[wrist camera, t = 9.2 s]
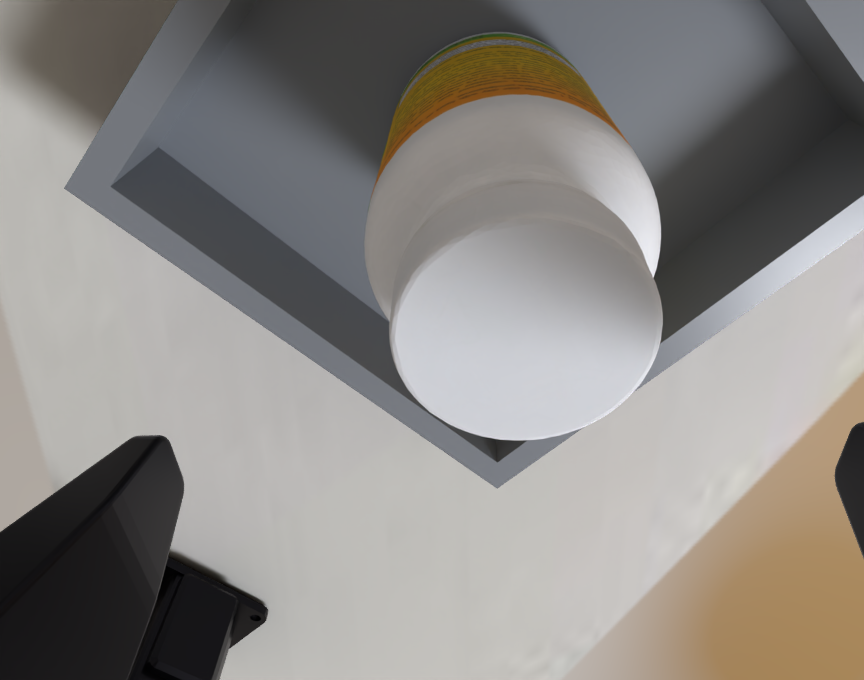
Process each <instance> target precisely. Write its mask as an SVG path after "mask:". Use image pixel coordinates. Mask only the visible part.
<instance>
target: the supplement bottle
mask: <svg viewBox="0 0 864 680" xmlns="http://www.w3.org/2000/svg"><path fill="white" fill-rule="evenodd" d="M660 244H661V223H660V214H659V208H658V203H657V199H656V196H655V192H654V189H653V187H652V184H651V182H650V179H649V177H648V175H647V173H646V172H645V170H644V168H643V166H642V164H641V162H640V161H639V159H638V157H637V156H636V154H635V152H634V150H633V149H632V147H631V146H630V144H629V143H628V142H627V140H626V139H625V137H624V136H623V134H622V133H621V132H620V130H619V129H618V128H617V126H616V125H615V123H614V122H613V121H612V119H611V118H610V116H609V115H608V113H607V112H606V110H605V109H604V107H603V106H602V105H601V103H600V102H599V100H598V99H597V97H596V96H595V94H594V93H593V91H592V90H591V88H590V87H589V85H588V84H587V82H586V81H585V79H584V78H583V77H582V76H581V74H580V73H579V72H578V70H577V69H576V68H575V67H574V66H573V65H572V64H571V63H570V62H569V61H568V60H567V59H566V58H565V57H564V56H563V55H562V54H560V53H559V52H558V51H556V50H555V49H553V48H552V47H550V46H549V45H547V44H545V43H543V42H541V41H539V40H537V39H534V38H532V37H529V36H525V35H522V34H516V33H510V32H488V33H481V34H476V35H472V36H469V37H465V38H463V39H460V40H458V41H455V42H453V43H451V44H449V45H447V46H445V47H444V48H442V49H441V50H439V51H438V52H436V53H435V54H434V55H432V56H431V57H430V58H429V59H428V60H427V61H426V62H425V63H424V64H422V66H421V67H420V68H419V69H418V70H417V71H416V73H415V74H414V75H413V77H412V78H411V79H410V81H409V82H408V84H407V86H406V87H405V89H404V91H403V93H402V95H401V97H400V100H399V102H398V104H397V107H396V110H395V113H394V117H393V120H392V124H391V128H390V132H389V136H388V140H387V143H386V147H385V150H384V153H383V157H382V161H381V165H380V169H379V172H378V175H377V179H376V182H375V185H374V188H373V192H372V196H371V200H370V204H369V209H368V216H367V222H366V228H365V240H364V248H365V263H366V268H367V273H368V277H369V281H370V284H371V287H372V290H373V292H374V295H375V297H376V300H377V302H378V304H379V306H380V307H381V309H382V311H383V312H384V314H385V316H386V317H387V319H388V320H389V340H390V347H391V352H392V357H393V361H394V363H395V366H396V369H397V371H398V373H399V375H400V377H401V379H402V380H403V382H404V384H405V386H406V388H407V389H408V390H409V391H410V393H411V394H412V395H413V396H414V398H415V399H416V400H417V401H418V402H419V403H420V404H421V405H423V406H424V407H425V408H426V409H427V410H428V411H429V412H431V413H432V414H434V415H435V416H437V417H438V418H440V419H441V420H443V421H445V422H446V423H448V424H450V425H452V426H454V427H456V428H458V429H461V430H464V431H466V432H469V433H472V434H476V435H479V436H483V437H488V438H494V439H499V440H537V439H545V438H549V437H554V436H559V435H563V434H566V433H569V432H572V431H575V430H578V429H581V428H583V427H585V426H587V425H589V424H592V423H594V422H595V421H597V420H599V419H601V418H603V417H604V416H606V415H607V414H609V413H610V412H612V411H613V410H614V409H615V408H617V407H618V406H619V405H620V404H622V403H623V402H624V401H625V400H626V399H627V398H628V397H629V396H630V395H631V394H632V393H633V392H634V391H635V390H636V389H637V387H638V386H639V385H640V384H641V382H642V381H643V380H644V378H645V376H646V375H647V373H648V371H649V370H650V368H651V366H652V364H653V362H654V360H655V357H656V355H657V352H658V349H659V345H660V341H661V334H662V326H663V312H662V305H661V299H660V295H659V292H658V289H657V285H656V283H655V280H654V275H655V272H656V269H657V264H658V259H659V253H660Z"/></svg>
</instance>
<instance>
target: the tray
mask: <svg viewBox="0 0 864 680" xmlns="http://www.w3.org/2000/svg"><path fill="white" fill-rule="evenodd" d="M488 32H510V33H516V34H522V35H525V36H529V37H532V38H534V39H537V40H539V41H541V42H543V43H545V44H547V45H549V46H550V47H552V48H553V49H555V50H556V51H558V52H559V53H560V54H562V55H563V56H564V57H565V58H566V59H567V60H568V61H569V62H570V63H571V64H572V65H573V66H574V67H575V68H576V69H577V70H578V72H579V73H580V74H581V76H582V77H583V78H584V79H585V81H586V82H587V84H588V85H589V87H590V88H591V90H592V91H593V93H594V94H595V96H596V97H597V99H598V100H599V102H600V103H601V105H602V106H603V107H604V109H605V110H606V112H607V113H608V115H609V116H610V118H611V119H612V121H613V122H614V123H615V125H616V126H617V128H618V129H619V130H620V132H621V133H622V134H623V136H624V137H625V139H626V140H627V142H628V143H629V144H630V146H631V147H632V149H633V150H634V152H635V154H636V156H637V157H638V159H639V161H640V162H641V164H642V166H643V168H644V170H645V172H646V173H647V175H648V177H649V179H650V182H651V184H652V187H653V189H654V192H655V196H656V199H657V203H658V208H659V214H660V223H661V244H660V253H659V259H658V264H657V269H656V272H655V275H654V280H655V283H656V285H657V289H658V292H659V295H660V299H661V305H662V312H663V326H662V334H661V341H660V345H659V349H658V352H657V355H656V357H655V360H654V362H653V364H652V366H651V368H650V370H649V371H648V373H647V375H646V376H645V378H644V380H643V381H642V382H641V384H640V385H639V386H638V387H637V389H639V388H640V387H642V386H643V385H644V384H646V383H647V382H649V381H650V380H651V379H653V378H654V377H656V376H657V375H659V374H660V373H661V372H663V371H664V370H666V369H667V368H668V367H670V366H671V365H673V364H674V363H676V362H677V361H678V360H680V359H681V358H683V357H684V356H685V355H687V354H688V353H690V352H691V351H693V350H694V349H695V348H697V347H698V346H700V345H701V344H702V343H704V342H705V341H707V340H708V339H710V338H711V337H712V336H714V335H715V334H717V333H718V332H719V331H721V330H722V329H724V328H725V327H726V326H728V325H729V324H731V323H732V322H734V321H735V320H736V319H738V318H739V317H741V316H742V315H743V314H745V313H746V312H748V311H749V310H751V309H752V308H753V307H755V306H756V305H758V304H759V303H760V302H762V301H763V300H765V299H766V298H768V297H769V296H770V295H772V294H773V293H775V292H776V291H777V290H779V289H780V288H782V287H783V286H785V285H786V284H787V283H789V282H790V281H792V280H793V279H794V278H796V277H797V276H799V275H800V274H802V273H803V272H804V271H806V270H807V269H809V268H810V267H811V266H813V265H814V264H816V263H817V262H819V261H820V260H821V259H823V258H824V257H826V256H827V255H828V254H830V253H831V252H833V251H834V250H836V249H837V248H838V247H840V246H841V245H843V244H844V243H845V242H847V241H848V240H850V239H851V238H853V237H854V236H855V235H857V234H858V233H860V232H861V231H862V230H864V0H178V1H177V3H176V4H175V6H174V8H173V9H172V11H171V13H170V14H169V16H168V17H167V19H166V21H165V22H164V24H163V26H162V27H161V29H160V31H159V32H158V34H157V36H156V37H155V39H154V41H153V42H152V44H151V46H150V47H149V49H148V51H147V52H146V54H145V56H144V57H143V59H142V60H141V62H140V64H139V65H138V67H137V69H136V70H135V72H134V74H133V75H132V77H131V79H130V80H129V82H128V84H127V85H126V87H125V89H124V90H123V92H122V94H121V95H120V97H119V98H118V100H117V102H116V103H115V105H114V107H113V108H112V110H111V112H110V113H109V115H108V117H107V118H106V120H105V122H104V123H103V125H102V127H101V128H100V130H99V132H98V133H97V135H96V136H95V138H94V140H93V141H92V143H91V145H90V146H89V148H88V150H87V151H86V153H85V155H84V156H83V158H82V160H81V161H80V163H79V165H78V166H77V168H76V170H75V171H74V173H73V175H72V176H71V178H70V179H69V181H68V183H67V184H66V186H65V188H64V189H66V190H67V191H69V192H70V193H71V194H73V195H74V196H76V197H77V198H79V199H80V200H82V201H83V202H84V203H86V204H87V205H89V206H90V207H92V208H93V209H95V210H96V211H97V212H99V213H100V214H102V215H103V216H105V217H106V218H108V219H109V220H110V221H112V222H113V223H115V224H116V225H118V226H119V227H121V228H122V229H123V230H125V231H126V232H128V233H129V234H131V235H132V236H134V237H135V238H136V239H138V240H139V241H141V242H142V243H144V244H145V245H147V246H148V247H149V248H151V249H152V250H154V251H155V252H157V253H158V254H160V255H161V256H162V257H164V258H165V259H167V260H168V261H170V262H171V263H173V264H174V265H175V266H177V267H178V268H180V269H181V270H183V271H184V272H185V273H187V274H188V275H190V276H191V277H193V278H194V279H196V280H197V281H198V282H200V283H201V284H203V285H204V286H206V287H207V288H209V289H210V290H211V291H213V292H214V293H216V294H217V295H219V296H220V297H222V298H223V299H224V300H226V301H227V302H229V303H230V304H232V305H233V306H235V307H236V308H237V309H239V310H240V311H242V312H243V313H245V314H246V315H248V316H249V317H250V318H252V319H253V320H255V321H256V322H258V323H259V324H261V325H262V326H263V327H265V328H266V329H268V330H269V331H271V332H272V333H274V334H275V335H276V336H278V337H279V338H281V339H282V340H284V341H285V342H287V343H288V344H289V345H291V346H292V347H294V348H295V349H297V350H298V351H299V352H301V353H302V354H304V355H305V356H307V357H308V358H310V359H311V360H312V361H314V362H315V363H317V364H318V365H320V366H321V367H323V368H324V369H325V370H327V371H328V372H330V373H331V374H333V375H334V376H336V377H337V378H338V379H340V380H341V381H343V382H344V383H346V384H347V385H349V386H350V387H351V388H353V389H354V390H356V391H357V392H359V393H360V394H362V395H363V396H364V397H366V398H367V399H369V400H370V401H372V402H373V403H375V404H376V405H377V406H379V407H380V408H382V409H383V410H385V411H386V412H388V413H389V414H390V415H392V416H393V417H395V418H396V419H398V420H399V421H400V422H402V423H403V424H405V425H406V426H408V427H409V428H411V429H412V430H413V431H415V432H416V433H418V434H419V435H421V436H422V437H424V438H425V439H426V440H428V441H429V442H431V443H432V444H434V445H435V446H437V447H438V448H439V449H441V450H442V451H444V452H445V453H447V454H448V455H450V456H451V457H452V458H454V459H455V460H457V461H458V462H460V463H461V464H463V465H464V466H465V467H467V468H468V469H470V470H471V471H473V472H474V473H476V474H477V475H478V476H480V477H481V478H483V479H484V480H486V481H487V482H489V483H490V484H491V485H493V486H494V487H496V488H499V487H500V486H501V485H503V484H504V483H506V482H507V481H508V480H510V479H511V478H513V477H514V476H516V475H517V474H518V473H520V472H521V471H523V470H524V469H525V468H527V467H528V466H530V465H531V464H532V463H534V462H535V461H537V460H538V459H540V458H541V457H542V456H544V455H545V454H547V453H548V452H549V451H551V450H552V449H554V448H555V447H557V446H558V445H559V444H561V443H562V442H564V441H565V440H566V439H568V438H569V437H571V436H572V435H574V434H575V433H576V432H578V431H579V430H581V429H582V428H581V429H578V430H575V431H572V432H569V433H566V434H563V435H559V436H554V437H549V438H545V439H537V440H499V439H494V438H488V437H483V436H479V435H476V434H472V433H469V432H466V431H464V430H461V429H458V428H456V427H454V426H452V425H450V424H448V423H446V422H445V421H443V420H441V419H440V418H438V417H437V416H435V415H434V414H432V413H431V412H429V411H428V410H427V409H426V408H425V407H424V406H423V405H421V404H420V403H419V402H418V401H417V400H416V399H415V398H414V396H413V395H412V394H411V393H410V391H409V390H408V389H407V388H406V386H405V384H404V382H403V380H402V379H401V377H400V375H399V373H398V371H397V369H396V366H395V363H394V361H393V357H392V352H391V347H390V340H389V320H388V319H387V317H386V316H385V314H384V312H383V311H382V309H381V307H380V306H379V304H378V302H377V300H376V297H375V295H374V292H373V290H372V287H371V284H370V281H369V277H368V273H367V268H366V263H365V248H364V240H365V228H366V222H367V216H368V209H369V204H370V200H371V196H372V192H373V188H374V185H375V182H376V179H377V175H378V172H379V169H380V165H381V161H382V157H383V153H384V150H385V147H386V143H387V140H388V136H389V132H390V128H391V124H392V120H393V117H394V113H395V110H396V107H397V104H398V102H399V100H400V97H401V95H402V93H403V91H404V89H405V87H406V86H407V84H408V82H409V81H410V79H411V78H412V77H413V75H414V74H415V73H416V71H417V70H418V69H419V68H420V67H421V66H422V64H424V63H425V62H426V61H427V60H428V59H429V58H430V57H431V56H432V55H434V54H435V53H436V52H438V51H439V50H441V49H442V48H444V47H445V46H447V45H449V44H451V43H453V42H455V41H458V40H460V39H463V38H465V37H469V36H472V35H476V34H481V33H488ZM637 389H636V390H637ZM636 390H635V391H636Z"/></svg>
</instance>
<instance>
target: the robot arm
mask: <svg viewBox="0 0 864 680" xmlns="http://www.w3.org/2000/svg"><path fill="white" fill-rule="evenodd" d="M835 482H836V487H837V490H838V492H839V495H840V498H841V500H842V503H843V505H844V508H845V511H846V513H847V516H848V518H849V521H850V524H851V526H852V529H853V532H854V534H855V537H856V539H857V542H858V544H859V547H860V550H861V552H862V555H863V557H864V422H862V423H858V424H856V425H855V426H854V427H853V428H852V429H851V431H850V434H849V436H848V439H847V441H846V444H845V446H844V449H843V451H842V453H841V456H840V458H839V461H838V463H837V466H836V469H835ZM183 494H184V481H183V477H182V474H181V471H180V468H179V466H178V463H177V460H176V457H175V455H174V452H173V449H172V446H171V444H170V442H169V440H168V439H167V438H166V437H164V436H161V435H149V436H135V437H132V438H131V439H129V440H128V441H126V442H125V443H124V444H122V445H121V446H119V447H118V448H117V449H115V450H114V451H112V452H111V453H110V454H108V455H107V456H105V457H104V458H103V459H101V460H100V461H98V462H97V463H96V464H94V465H93V466H92V467H90V468H89V469H87V470H86V471H85V472H83V473H82V474H80V475H79V476H78V477H76V478H75V479H73V480H72V481H71V482H69V483H68V484H66V485H65V486H64V487H62V488H61V489H60V490H58V491H57V492H55V493H54V494H53V495H51V496H50V497H48V498H47V499H46V500H44V501H43V502H41V503H40V504H39V505H37V506H36V507H34V508H33V509H32V510H30V511H29V512H27V513H26V514H25V515H23V516H22V517H21V518H19V519H18V520H16V521H15V522H14V523H12V524H11V525H9V526H8V527H7V528H5V529H4V530H3V531H1V532H0V680H219V679H220V676H221V673H222V669H223V666H224V663H225V660H226V656H227V653H228V650H229V649H230V648H231V647H232V646H234V645H235V644H236V643H238V642H239V641H240V640H242V639H243V638H244V637H246V636H247V635H248V634H250V633H251V632H252V631H254V630H255V629H256V628H258V627H259V626H261V625H262V624H263V623H265V621H266V619H267V615H268V609H267V608H266V607H265V606H263V605H261V604H259V603H257V602H255V601H253V600H251V599H249V598H248V597H246V596H244V595H242V594H240V593H238V592H236V591H234V590H232V589H230V588H228V587H226V586H224V585H222V584H220V583H218V582H216V581H214V580H212V579H210V578H208V577H206V576H204V575H202V574H200V573H199V572H197V571H195V570H193V569H191V568H189V567H187V566H185V565H183V564H181V563H179V562H177V561H175V560H173V559H171V558H169V557H168V554H169V550H170V546H171V542H172V538H173V534H174V531H175V527H176V523H177V519H178V515H179V511H180V507H181V503H182V499H183Z"/></svg>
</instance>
